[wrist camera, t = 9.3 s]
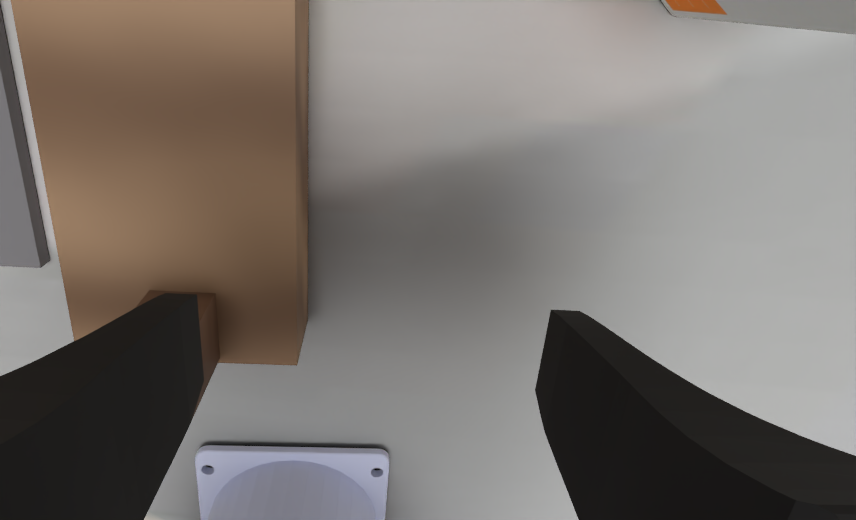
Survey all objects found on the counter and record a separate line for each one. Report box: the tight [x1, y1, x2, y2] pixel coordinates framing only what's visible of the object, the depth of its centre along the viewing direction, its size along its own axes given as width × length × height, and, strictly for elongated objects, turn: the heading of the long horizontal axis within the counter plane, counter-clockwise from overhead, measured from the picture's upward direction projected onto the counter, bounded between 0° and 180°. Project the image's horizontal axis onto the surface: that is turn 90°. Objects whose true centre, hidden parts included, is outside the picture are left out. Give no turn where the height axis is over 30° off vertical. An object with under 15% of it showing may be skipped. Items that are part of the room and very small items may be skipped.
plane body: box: [11, 0, 309, 421], centre depth 16 cm, size 16×7×7 cm, turn 175°
